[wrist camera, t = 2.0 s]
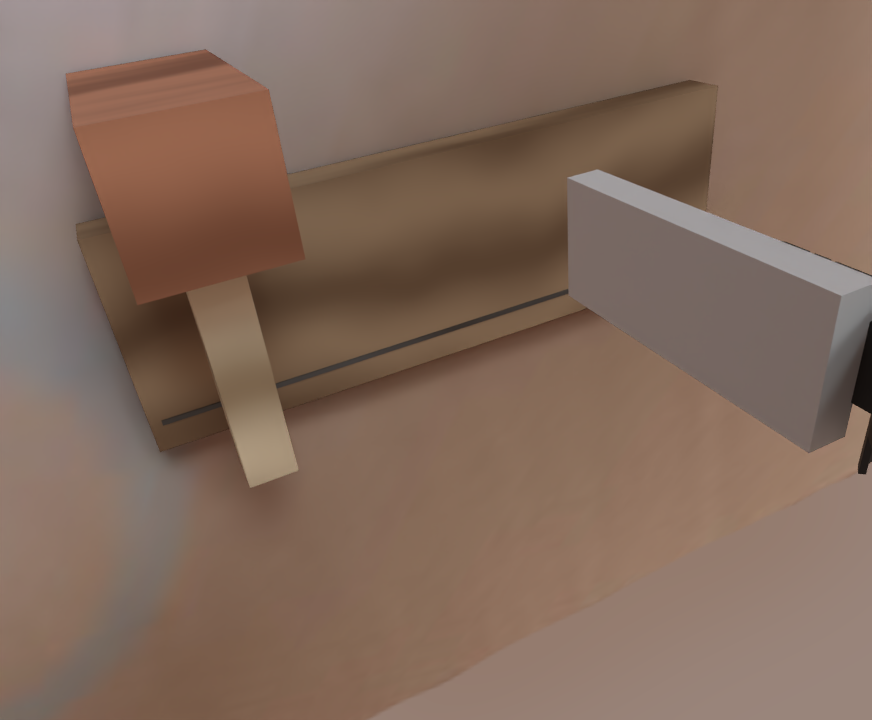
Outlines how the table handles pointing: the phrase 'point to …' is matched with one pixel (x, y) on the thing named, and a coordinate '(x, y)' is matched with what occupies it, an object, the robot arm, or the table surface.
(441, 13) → the table surface
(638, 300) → the robot arm
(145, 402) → the board
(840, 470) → the table surface
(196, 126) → the mallet
